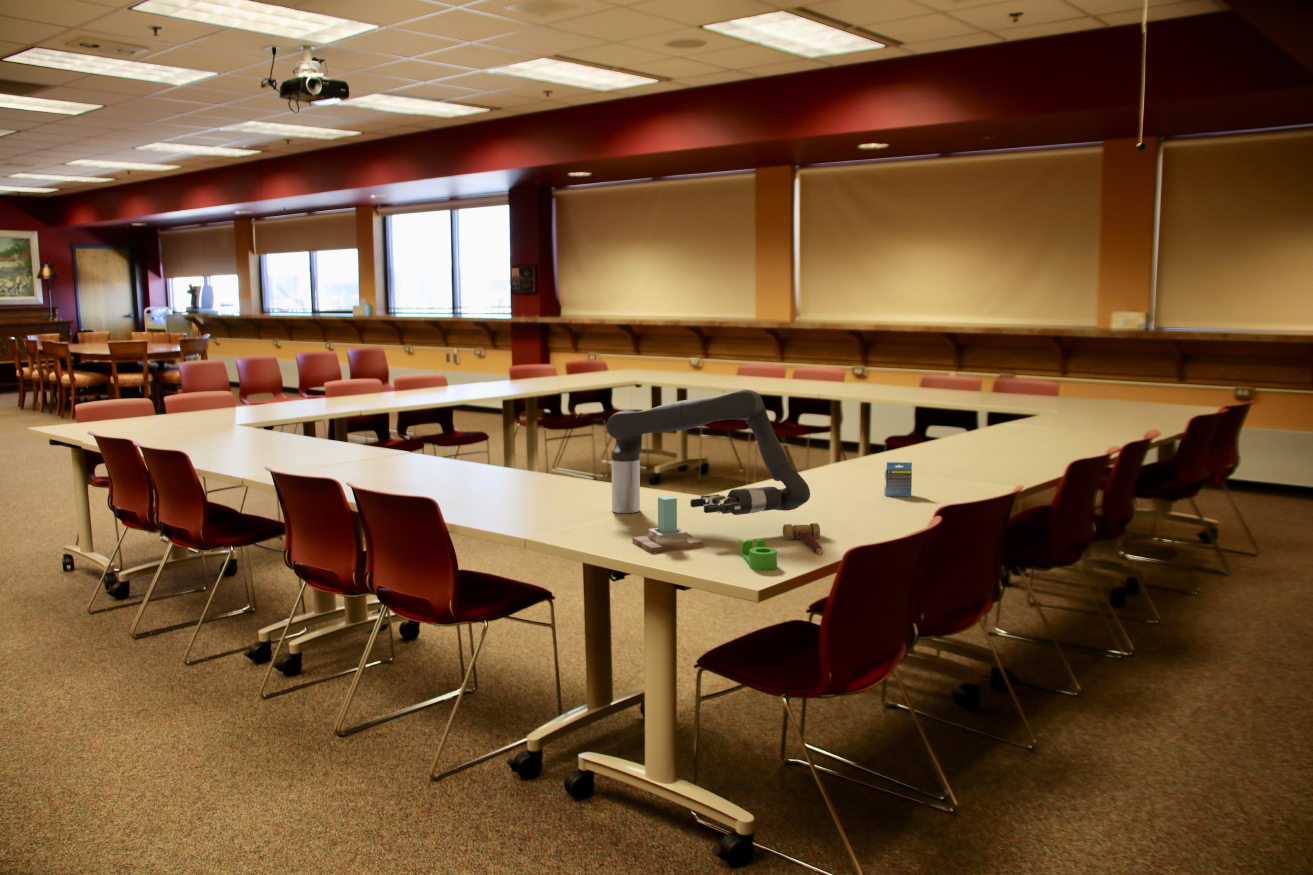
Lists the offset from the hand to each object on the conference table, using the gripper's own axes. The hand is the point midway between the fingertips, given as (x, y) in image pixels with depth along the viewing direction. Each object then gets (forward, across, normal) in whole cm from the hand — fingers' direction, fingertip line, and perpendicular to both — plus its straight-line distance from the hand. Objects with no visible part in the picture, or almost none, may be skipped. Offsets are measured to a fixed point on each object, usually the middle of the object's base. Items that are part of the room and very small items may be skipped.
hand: (697, 506), depth 258 cm
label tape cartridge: (-92, -26, +11) cm, 96 cm away
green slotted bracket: (-4, +27, +11) cm, 30 cm away
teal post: (+10, 0, +9) cm, 13 cm away
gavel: (-26, +18, +11) cm, 34 cm away
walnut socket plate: (+10, 0, +10) cm, 14 cm away
